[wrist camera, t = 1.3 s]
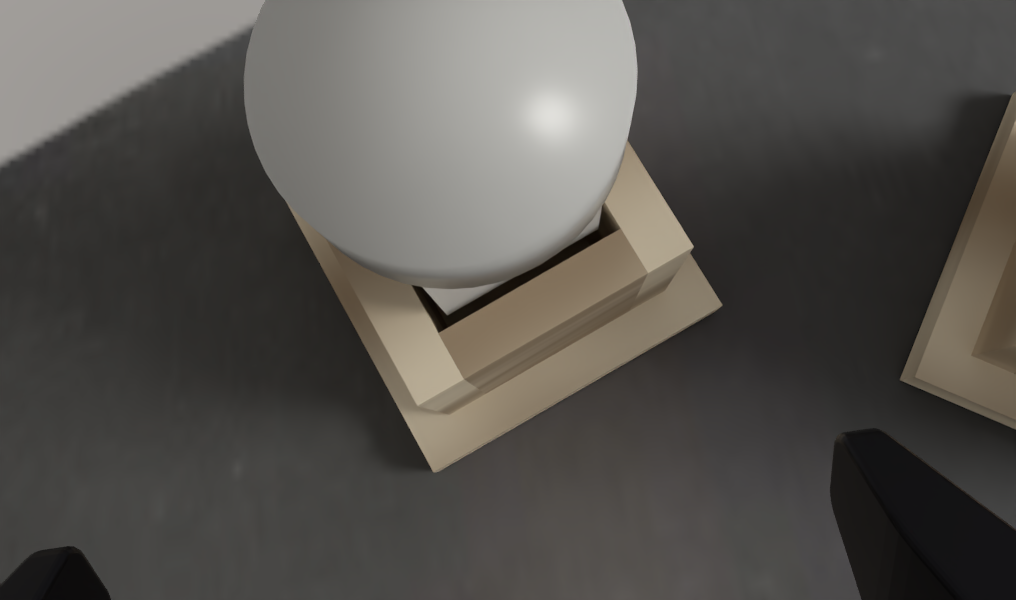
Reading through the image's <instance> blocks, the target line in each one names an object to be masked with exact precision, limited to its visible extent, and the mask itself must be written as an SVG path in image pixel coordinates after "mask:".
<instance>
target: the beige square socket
mask: <svg viewBox="0 0 1016 600" xmlns="http://www.w3.org/2000/svg"><path fill="white" fill-rule="evenodd" d="M286 203H287V202H286ZM287 204H288V203H287ZM288 206H289V208H290V210H291V212H292V214H293V215H294V217H295V219H296V221H297V223H298V225H299V226H300V228H301V230H302V232H303V234H304V236H305V237H306V239H307V241H308V243H309V245H310V247H311V249H312V250H313V252H314V254H315V256H316V258H317V260H318V261H319V263H320V265H321V267H322V269H323V271H324V272H325V274H326V276H327V278H328V280H329V282H330V283H331V285H332V287H333V289H334V291H335V293H336V294H337V296H338V298H339V300H340V302H341V304H342V305H343V307H344V309H345V311H346V313H347V315H348V316H349V318H350V320H351V322H352V324H353V326H354V327H355V329H356V331H357V333H358V335H359V337H360V338H361V340H362V342H363V344H364V346H365V348H366V349H367V351H368V353H369V355H370V357H371V359H372V360H373V362H374V364H375V366H376V368H377V370H378V371H379V373H380V375H381V377H382V379H383V381H384V382H385V384H386V386H387V388H388V390H389V392H390V393H391V395H392V397H393V399H394V401H395V403H396V404H397V406H398V408H399V410H400V412H401V414H402V415H403V417H404V419H405V421H406V423H407V425H408V426H409V428H410V430H411V432H412V434H413V436H414V437H415V439H416V441H417V443H418V445H419V447H420V448H421V450H422V452H423V454H424V456H425V458H426V459H427V461H428V463H429V465H430V467H431V469H432V471H433V472H438V471H441V470H442V469H444V468H446V467H447V466H449V465H451V464H453V463H454V462H456V461H458V460H460V459H461V458H463V457H465V456H466V455H468V454H470V453H472V452H473V451H475V450H477V449H479V448H480V447H482V446H484V445H486V444H487V443H489V442H491V441H492V440H494V439H496V438H498V437H499V436H501V435H503V434H505V433H506V432H508V431H510V430H511V429H513V428H515V427H517V426H518V425H520V424H522V423H524V422H525V421H527V420H529V419H530V418H532V417H534V416H536V415H537V414H539V413H541V412H543V411H544V410H546V409H548V408H549V407H551V406H553V405H555V404H556V403H558V402H560V401H562V400H563V399H565V398H567V397H568V396H570V395H572V394H574V393H575V392H577V391H579V390H581V389H582V388H584V387H586V386H588V385H589V384H591V383H593V382H594V381H596V380H598V379H600V378H601V377H603V376H605V375H607V374H608V373H610V372H612V371H613V370H615V369H617V368H619V367H620V366H622V365H624V364H626V363H627V362H629V361H631V360H632V359H634V358H636V357H638V356H639V355H641V354H643V353H645V352H646V351H648V350H650V349H651V348H653V347H655V346H657V345H658V344H660V343H662V342H664V341H665V340H667V339H669V338H670V337H672V336H674V335H676V334H677V333H679V332H681V331H683V330H684V329H686V328H688V327H690V326H691V325H693V324H695V323H696V322H698V321H700V320H702V319H703V318H705V317H707V316H709V315H710V314H712V313H714V312H715V311H717V310H718V309H719V308H720V307H721V306H722V303H721V302H720V300H719V299H718V297H717V295H716V294H715V292H714V291H713V289H712V287H711V286H710V284H709V283H708V281H707V279H706V278H705V276H704V275H703V273H702V271H701V270H700V268H699V267H698V265H697V263H696V262H695V260H694V259H693V257H692V255H691V254H690V252H691V250H692V249H693V247H694V246H693V244H692V243H691V241H690V240H689V238H688V237H687V235H686V233H685V232H684V230H683V229H682V227H681V225H680V224H679V222H678V221H677V219H676V217H675V216H674V214H673V213H672V211H671V209H670V208H669V206H668V205H667V203H666V201H665V200H664V198H663V197H662V195H661V193H660V192H659V190H658V189H657V187H656V185H655V184H654V182H653V181H652V179H651V177H650V176H649V174H648V173H647V171H646V169H645V168H644V166H643V165H642V163H641V161H640V160H639V158H638V157H637V155H636V153H635V152H634V150H633V149H632V147H631V145H630V144H629V142H628V141H627V143H626V148H625V153H624V157H623V161H622V164H621V167H620V169H619V172H618V175H617V178H616V181H615V183H614V185H613V187H612V189H611V191H610V193H609V195H608V197H607V199H606V201H605V202H604V204H603V205H602V209H601V215H600V221H599V227H598V230H596V231H594V232H592V233H591V234H589V235H587V236H585V237H584V238H582V239H580V240H578V241H577V242H575V243H573V244H571V245H570V246H568V247H566V248H564V249H563V250H562V251H560V252H559V253H557V254H556V255H554V256H553V257H551V258H550V259H548V260H547V261H545V262H544V263H542V264H541V265H539V266H537V267H535V268H533V269H531V270H529V271H527V272H525V273H523V274H521V275H519V276H516V277H514V278H512V279H510V280H509V281H507V282H505V283H503V284H502V285H500V286H498V287H496V288H495V289H493V290H491V291H489V292H488V293H486V294H484V295H482V296H481V297H479V298H477V299H475V300H474V301H472V302H470V303H468V304H467V305H465V306H463V307H461V308H460V309H458V310H456V311H454V312H453V313H451V314H449V315H448V316H447V314H446V313H445V312H444V311H443V310H442V309H441V308H440V307H439V305H438V304H437V303H436V302H435V301H434V300H433V299H432V298H431V296H430V295H429V294H428V293H427V292H426V291H425V290H424V289H423V287H420V286H414V285H409V284H404V283H401V282H398V281H395V280H392V279H389V278H386V277H383V276H381V275H379V274H377V273H374V272H372V271H370V270H368V269H366V268H364V267H362V266H361V265H359V264H358V263H356V262H355V261H353V260H352V259H350V258H349V257H347V256H346V255H344V254H343V253H341V252H340V251H339V250H338V249H337V248H336V247H335V246H333V245H332V244H331V243H330V242H329V241H328V240H327V239H325V238H324V237H323V236H322V235H321V234H320V233H319V232H317V231H316V230H315V229H314V228H313V227H312V226H311V225H309V224H308V223H307V222H306V221H305V220H304V219H303V218H302V217H300V216H299V215H298V214H297V213H296V212H295V211H294V210H293V209H292V208H291V206H290V205H289V204H288Z"/></svg>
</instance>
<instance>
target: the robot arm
mask: <svg viewBox="0 0 1016 600" xmlns="http://www.w3.org/2000/svg"><path fill="white" fill-rule="evenodd" d="M830 496H831V503H832V508H833V512H834V515H835V518H836V521H837V524H838V527H839V531H840V534H841V537H842V540H843V543H844V546H845V549H846V552H847V556H848V559H849V562H850V565H851V568H852V571H853V574H854V577H855V580H856V584H857V587H858V590H859V593H860V596H861V599H862V600H1016V529H1014V528H1013V527H1012V526H1010V525H1009V524H1008V523H1006V522H1005V521H1004V520H1002V519H1001V518H1000V517H998V516H997V515H996V514H994V513H993V512H992V511H990V510H989V509H988V508H986V507H985V506H984V505H982V504H981V503H979V502H978V501H977V500H975V499H974V498H973V497H971V496H970V495H969V494H967V493H966V492H965V491H963V490H962V489H961V488H959V487H958V486H957V485H955V484H954V483H953V482H951V481H950V480H949V479H947V478H946V477H945V476H943V475H942V474H941V473H939V472H938V471H937V470H935V469H934V468H933V467H931V466H930V465H929V464H927V463H926V462H925V461H923V460H922V459H921V458H919V457H918V456H917V455H915V454H914V453H913V452H911V451H910V450H909V449H907V448H906V447H905V446H903V445H902V444H901V443H899V442H898V441H896V440H895V439H894V438H892V437H891V436H890V435H888V434H887V433H886V432H884V431H882V430H879V429H876V428H872V429H864V430H857V431H851V432H844V433H841V434H839V435H838V436H837V438H836V440H835V443H834V452H833V463H832V473H831V484H830ZM0 600H111V598H110V595H109V593H108V591H107V589H106V588H105V586H104V585H103V583H102V582H101V580H100V578H99V577H98V575H97V574H96V572H95V571H94V569H93V568H92V566H91V565H90V563H89V562H88V560H87V559H86V557H85V555H84V554H83V553H82V552H81V550H79V549H77V548H75V547H71V546H67V547H60V548H53V549H47V550H41V551H37V552H35V553H33V554H32V555H30V556H29V557H28V558H27V559H25V560H24V561H23V562H22V563H21V564H20V565H19V566H18V567H17V569H16V570H15V571H14V572H13V573H12V574H11V575H10V576H9V577H8V578H7V579H6V580H5V581H4V582H3V583H2V584H1V585H0Z"/></svg>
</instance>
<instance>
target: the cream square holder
mask: <svg viewBox="0 0 1016 600" xmlns="http://www.w3.org/2000/svg"><path fill="white" fill-rule="evenodd" d="M900 381H903V382H905V383H908V384H910V385H912V386H915V387H917V388H919V389H922V390H924V391H926V392H929V393H931V394H933V395H936V396H938V397H940V398H943V399H945V400H947V401H950V402H952V403H955V404H957V405H959V406H962V407H964V408H966V409H969V410H971V411H973V412H976V413H978V414H980V415H983V416H985V417H987V418H990V419H992V420H995V421H997V422H999V423H1002V424H1004V425H1006V426H1009V427H1011V428H1013V429H1016V92H1014V93H1013V94H1012V96H1011V99H1010V101H1009V104H1008V106H1007V109H1006V111H1005V114H1004V116H1003V119H1002V122H1001V124H1000V127H999V129H998V132H997V134H996V137H995V139H994V142H993V144H992V147H991V149H990V152H989V155H988V157H987V160H986V162H985V165H984V167H983V170H982V172H981V175H980V177H979V180H978V182H977V185H976V187H975V190H974V193H973V195H972V198H971V200H970V203H969V205H968V208H967V210H966V213H965V215H964V218H963V220H962V223H961V226H960V228H959V231H958V233H957V236H956V238H955V241H954V243H953V246H952V248H951V251H950V253H949V256H948V258H947V261H946V264H945V266H944V269H943V271H942V274H941V276H940V279H939V281H938V284H937V286H936V289H935V291H934V294H933V297H932V299H931V302H930V304H929V307H928V309H927V312H926V314H925V317H924V319H923V322H922V324H921V327H920V329H919V332H918V335H917V337H916V340H915V342H914V345H913V347H912V350H911V352H910V355H909V357H908V360H907V362H906V365H905V368H904V370H903V373H902V375H901V378H900Z"/></svg>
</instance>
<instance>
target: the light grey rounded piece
mask: <svg viewBox="0 0 1016 600" xmlns="http://www.w3.org/2000/svg"><path fill="white" fill-rule="evenodd" d="M636 88H637V59H636V48H635V42H634V38H633V33H632V29H631V24H630V21H629V18H628V15H627V13H626V10H625V8H624V5H623V2H622V0H266V1H265V2H264V4H263V6H262V8H261V10H260V13H259V15H258V18H257V20H256V23H255V25H254V28H253V31H252V35H251V39H250V43H249V46H248V50H247V55H246V64H245V72H244V103H245V110H246V116H247V123H248V128H249V131H250V134H251V138H252V141H253V144H254V148H255V150H256V153H257V155H258V157H259V159H260V161H261V164H262V166H263V168H264V170H265V172H266V174H267V175H268V177H269V178H270V180H271V181H272V183H273V185H274V186H275V188H276V189H277V191H278V192H279V194H280V195H281V196H282V197H283V198H284V199H285V201H286V202H287V203H288V204H289V205H290V206H291V208H292V209H293V210H294V211H295V212H296V213H297V214H298V215H299V216H300V217H302V218H303V219H304V220H305V221H306V222H307V223H308V224H309V225H311V226H312V227H313V228H314V229H315V230H316V231H317V232H319V233H320V234H321V235H322V236H323V237H324V238H325V239H327V240H328V241H329V242H330V243H331V244H332V245H333V246H335V247H336V248H337V249H338V250H339V251H340V252H341V253H343V254H344V255H346V256H347V257H349V258H350V259H352V260H353V261H355V262H356V263H358V264H359V265H361V266H362V267H364V268H366V269H368V270H370V271H372V272H374V273H377V274H379V275H381V276H383V277H386V278H389V279H392V280H395V281H398V282H401V283H404V284H409V285H414V286H420V287H423V289H424V290H425V291H426V292H427V293H428V294H429V295H430V296H431V298H432V299H433V300H434V301H435V302H436V303H437V304H438V305H439V307H440V308H441V309H442V310H443V311H444V312H445V313H446V314H447V316H448V315H449V314H451V313H453V312H454V311H456V310H458V309H460V308H461V307H463V306H465V305H467V304H468V303H470V302H472V301H474V300H475V299H477V298H479V297H481V296H482V295H484V294H486V293H488V292H489V291H491V290H493V289H495V288H496V287H498V286H500V285H502V284H503V283H505V282H507V281H509V280H510V279H512V278H514V277H516V276H519V275H521V274H523V273H525V272H527V271H529V270H531V269H533V268H535V267H537V266H539V265H541V264H542V263H544V262H545V261H547V260H548V259H550V258H551V257H553V256H554V255H556V254H557V253H559V252H560V251H562V250H563V249H564V248H566V247H568V246H570V245H571V244H573V243H575V242H577V241H578V240H580V239H582V238H584V237H585V236H587V235H589V234H591V233H592V232H594V231H596V230H598V227H599V221H600V215H601V209H602V205H603V204H604V202H605V201H606V199H607V197H608V195H609V193H610V191H611V189H612V187H613V185H614V183H615V181H616V178H617V175H618V172H619V169H620V167H621V164H622V161H623V157H624V153H625V148H626V143H627V138H628V134H629V129H630V124H631V119H632V114H633V109H634V104H635V98H636Z"/></svg>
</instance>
